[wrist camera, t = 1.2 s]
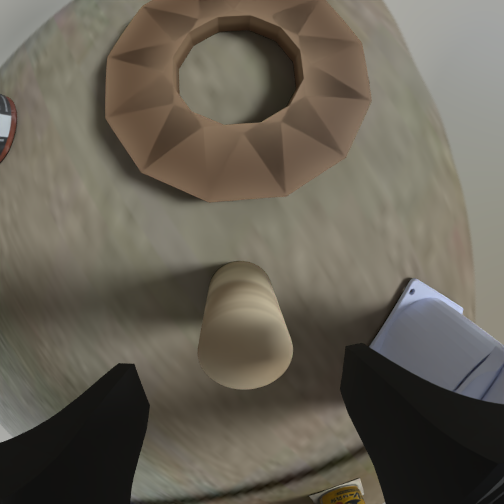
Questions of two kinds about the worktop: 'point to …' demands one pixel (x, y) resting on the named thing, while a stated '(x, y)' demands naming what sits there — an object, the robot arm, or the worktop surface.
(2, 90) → the worktop surface
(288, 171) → the walnut ring
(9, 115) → the supplement bottle
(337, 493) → the condiment
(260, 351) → the beech peg
